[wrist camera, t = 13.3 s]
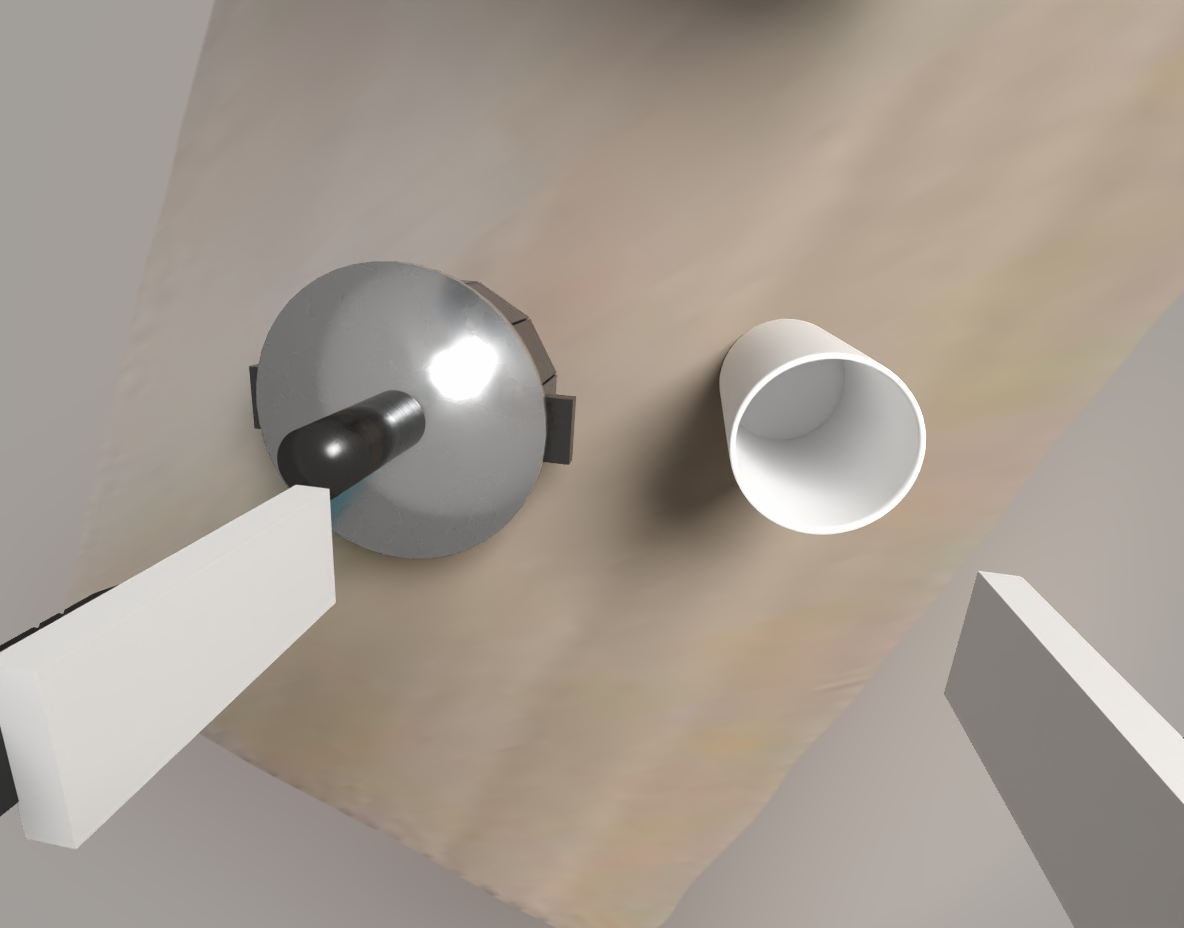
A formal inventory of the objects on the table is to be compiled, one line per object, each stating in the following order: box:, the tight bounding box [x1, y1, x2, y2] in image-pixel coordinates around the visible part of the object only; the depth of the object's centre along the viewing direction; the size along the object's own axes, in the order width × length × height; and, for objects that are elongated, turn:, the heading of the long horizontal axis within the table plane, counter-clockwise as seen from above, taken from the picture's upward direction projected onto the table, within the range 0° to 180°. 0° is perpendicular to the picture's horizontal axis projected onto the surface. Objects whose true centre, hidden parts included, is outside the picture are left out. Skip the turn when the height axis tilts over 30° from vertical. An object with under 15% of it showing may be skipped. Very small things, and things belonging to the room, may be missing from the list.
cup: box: [719, 319, 926, 534], centre depth 36 cm, size 8×8×16 cm
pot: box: [249, 280, 576, 465], centre depth 44 cm, size 21×16×8 cm
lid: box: [256, 262, 548, 559], centre depth 35 cm, size 18×18×10 cm
